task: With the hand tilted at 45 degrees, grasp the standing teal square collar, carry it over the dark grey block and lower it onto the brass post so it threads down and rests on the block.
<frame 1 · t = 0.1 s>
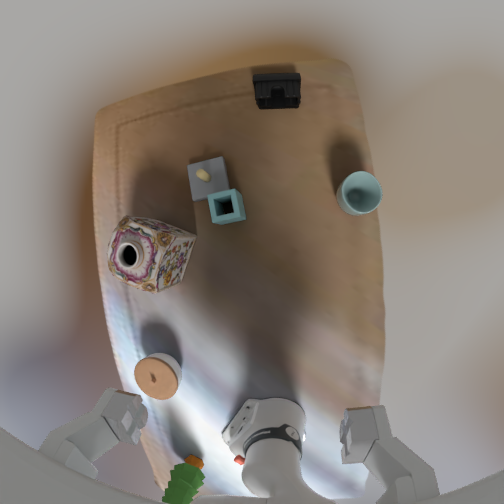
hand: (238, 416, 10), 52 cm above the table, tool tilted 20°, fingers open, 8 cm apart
cup: (350, 198, 59), on the table
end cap: (278, 96, 60), on the table
decorative jar: (167, 250, 65), on the table
decorative tree: (193, 462, 67), on the table
collar: (231, 209, 62), on the table
lidded jar: (167, 366, 66), on the table
shaft block: (209, 179, 62), on the table
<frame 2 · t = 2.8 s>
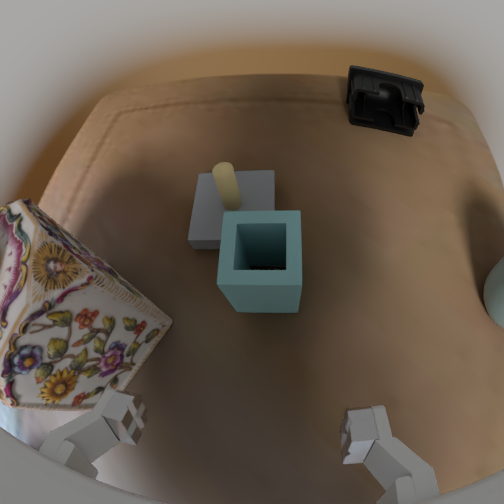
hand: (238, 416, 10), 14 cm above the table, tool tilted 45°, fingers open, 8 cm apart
cup: (497, 301, 23), on the table
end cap: (379, 115, 35), on the table
decorative jar: (106, 332, 27), on the table
collar: (268, 283, 27), on the table
shaft block: (235, 213, 30), on the table
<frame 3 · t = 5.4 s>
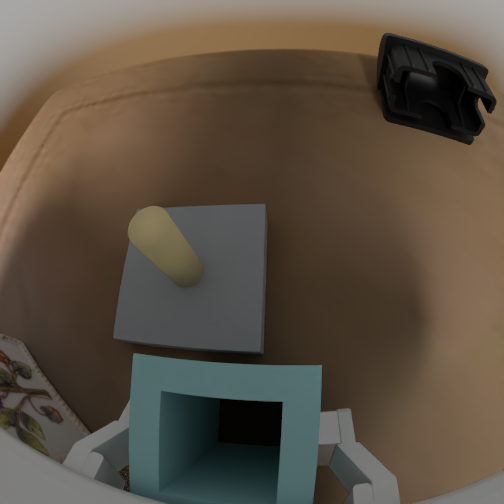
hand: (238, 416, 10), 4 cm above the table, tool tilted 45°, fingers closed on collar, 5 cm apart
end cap: (424, 111, 22), on the table
decorative jar: (34, 437, 14), on the table
collar: (250, 416, 14), on the table, touching gripper
shaft block: (197, 282, 17), on the table
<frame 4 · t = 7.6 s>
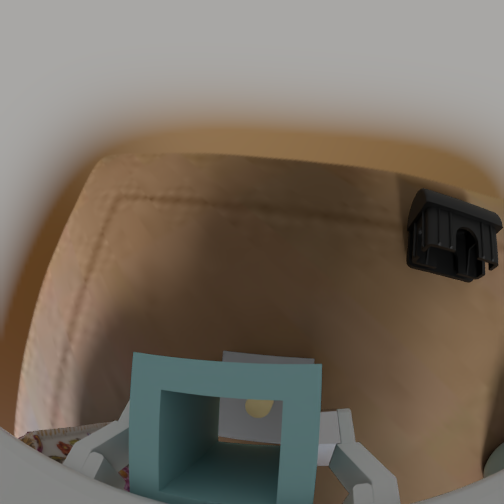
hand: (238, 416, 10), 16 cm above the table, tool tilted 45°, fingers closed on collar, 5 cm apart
cup: (497, 462, 17), on the table
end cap: (440, 247, 29), on the table
decorative jar: (132, 483, 22), on the table
collar: (250, 415, 14), point 12 cm above the table, touching gripper
shaft block: (265, 397, 25), on the table
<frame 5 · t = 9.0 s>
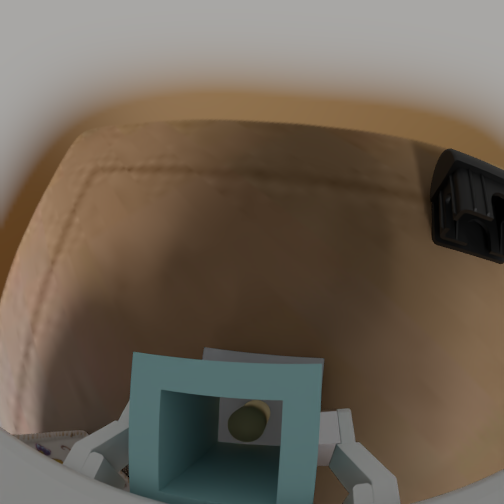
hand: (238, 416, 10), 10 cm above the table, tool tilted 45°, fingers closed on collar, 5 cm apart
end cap: (468, 223, 23), on the table
decorative jar: (100, 502, 16), on the table
collar: (250, 415, 14), point 6 cm above the table, touching gripper
shaft block: (259, 409, 19), on the table
when the fingers open (9 cm above the table, at t = 10.0 s): collar drops 2 cm, resting on shaft block.
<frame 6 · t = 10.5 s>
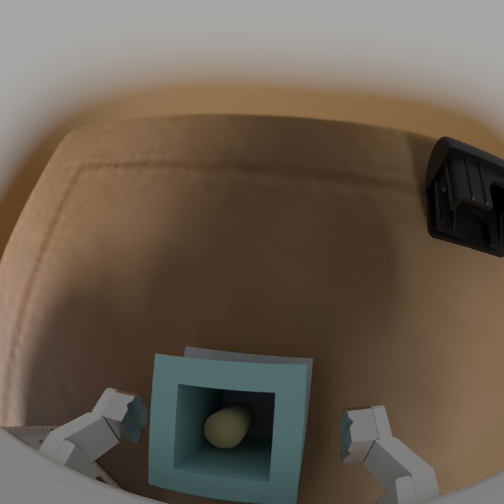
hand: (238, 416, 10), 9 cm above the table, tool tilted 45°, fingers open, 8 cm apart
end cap: (465, 215, 22), on the table
decorative jar: (83, 501, 14), on the table, touching arm
collar: (249, 410, 16), point 2 cm above the table, touching shaft block
shaft block: (244, 412, 17), on the table
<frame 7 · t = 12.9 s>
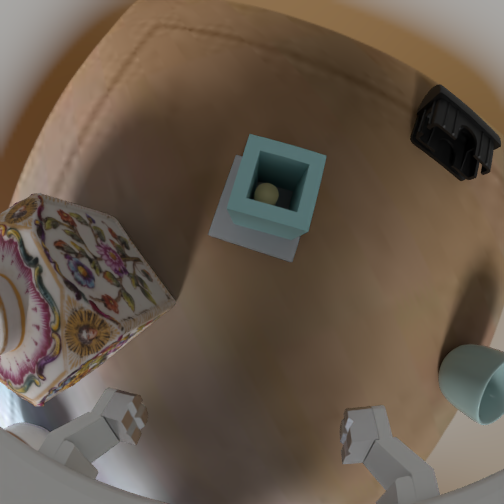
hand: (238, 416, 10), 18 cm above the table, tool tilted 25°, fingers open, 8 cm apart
cup: (451, 366, 28), on the table
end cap: (442, 141, 29), on the table
decorative jar: (108, 290, 29), on the table
collar: (270, 203, 27), point 2 cm above the table, touching shaft block
lidded jar: (47, 441, 28), on the table
shaft block: (262, 210, 29), on the table
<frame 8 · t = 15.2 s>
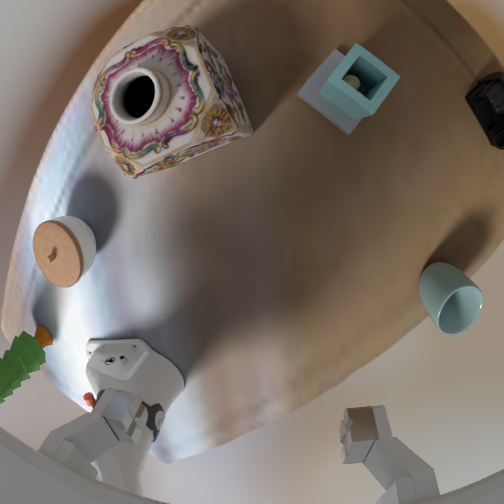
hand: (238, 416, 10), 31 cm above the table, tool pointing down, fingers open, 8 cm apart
cup: (432, 277, 40), on the table
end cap: (489, 111, 29), on the table
decorative jar: (199, 110, 35), on the table
decorative tree: (43, 335, 55), on the table
collar: (348, 90, 30), point 2 cm above the table, touching shaft block
lidded jar: (82, 238, 44), on the table
shaft block: (340, 92, 32), on the table
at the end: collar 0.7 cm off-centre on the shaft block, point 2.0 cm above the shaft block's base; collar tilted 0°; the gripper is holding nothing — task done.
